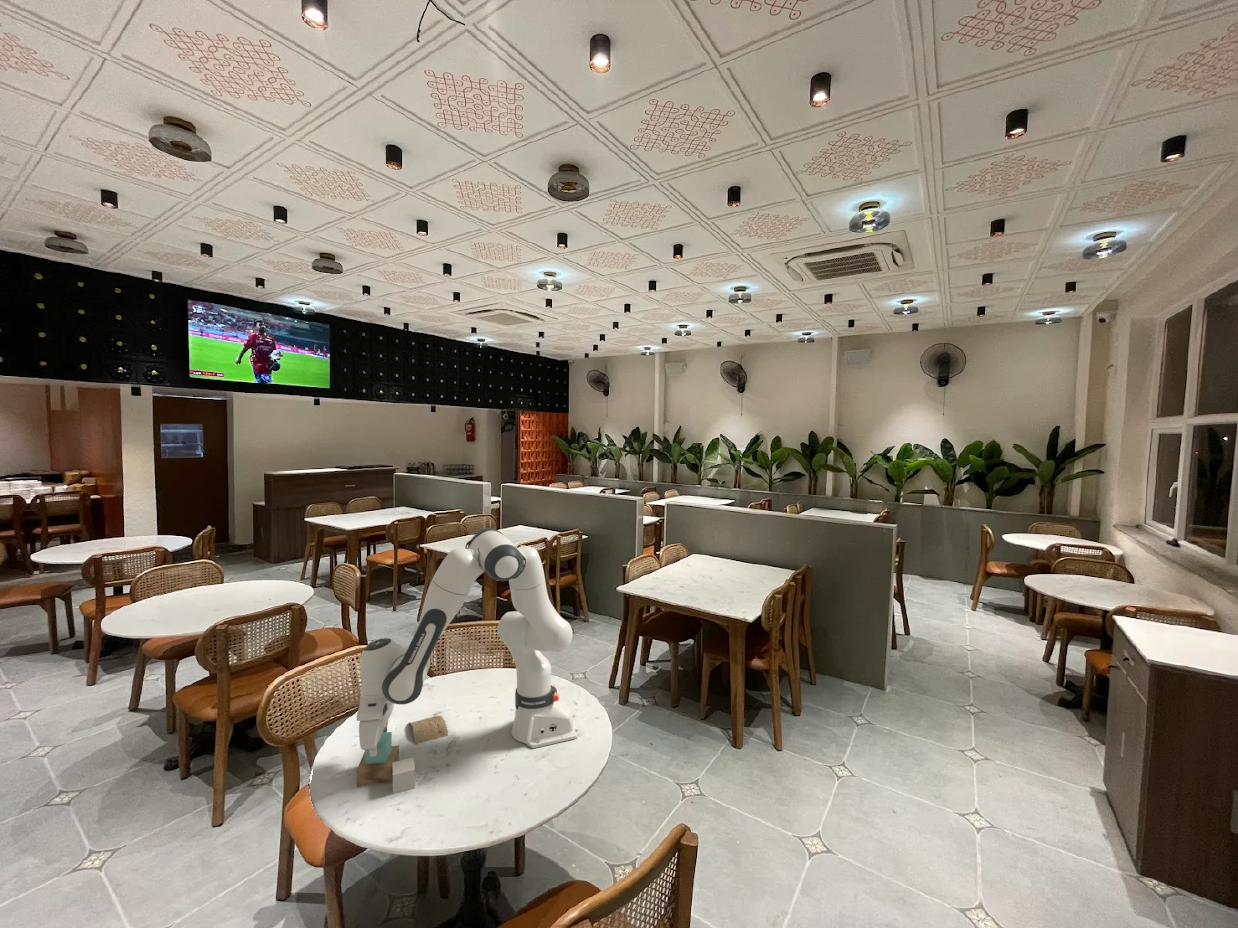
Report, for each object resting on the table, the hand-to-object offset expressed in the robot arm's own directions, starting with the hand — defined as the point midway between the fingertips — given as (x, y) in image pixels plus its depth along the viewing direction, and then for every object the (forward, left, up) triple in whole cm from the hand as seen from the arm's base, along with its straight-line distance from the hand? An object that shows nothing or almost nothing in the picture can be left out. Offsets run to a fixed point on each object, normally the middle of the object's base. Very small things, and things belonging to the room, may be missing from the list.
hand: (378, 743), depth 139 cm
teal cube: (0, 0, -4) cm, 4 cm away
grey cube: (-8, +6, -9) cm, 13 cm away
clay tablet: (-10, -19, -9) cm, 23 cm away
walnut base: (0, 0, -9) cm, 9 cm away
